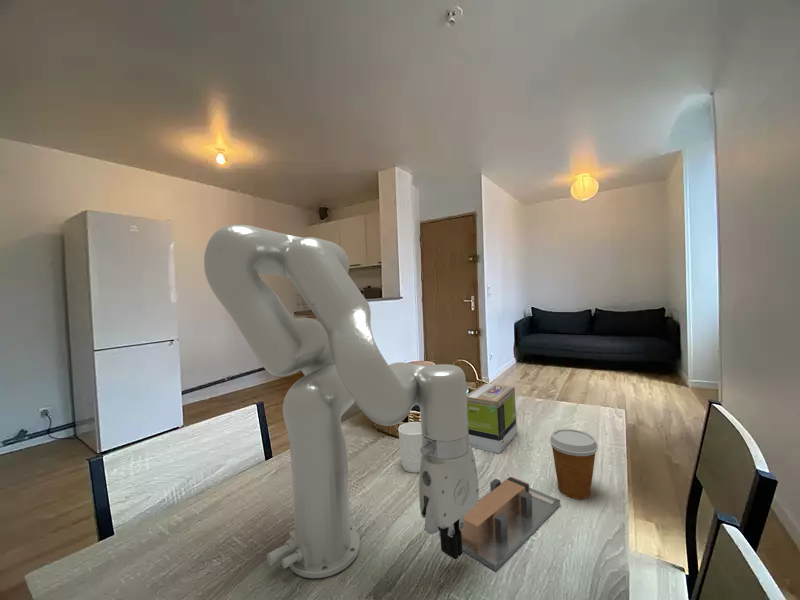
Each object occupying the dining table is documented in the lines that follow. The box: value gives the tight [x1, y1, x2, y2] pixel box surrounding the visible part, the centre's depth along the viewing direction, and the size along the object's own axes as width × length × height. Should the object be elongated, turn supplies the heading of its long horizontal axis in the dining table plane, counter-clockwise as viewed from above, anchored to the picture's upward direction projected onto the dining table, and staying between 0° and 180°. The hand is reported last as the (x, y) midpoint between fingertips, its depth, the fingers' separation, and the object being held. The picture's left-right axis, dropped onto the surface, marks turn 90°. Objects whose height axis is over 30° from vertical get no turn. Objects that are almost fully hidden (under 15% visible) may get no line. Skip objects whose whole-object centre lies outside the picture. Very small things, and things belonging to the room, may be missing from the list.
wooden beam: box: [460, 476, 530, 549], centre depth 69 cm, size 18×4×4 cm, turn 133°
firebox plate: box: [438, 478, 561, 572], centre depth 70 cm, size 24×12×5 cm, turn 133°
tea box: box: [466, 382, 518, 454], centre depth 105 cm, size 15×10×15 cm, turn 144°
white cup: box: [397, 421, 422, 474], centre depth 92 cm, size 8×8×10 cm
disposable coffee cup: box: [549, 428, 599, 500], centre depth 78 cm, size 10×10×12 cm
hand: (451, 552), depth 59 cm, fingers closed
